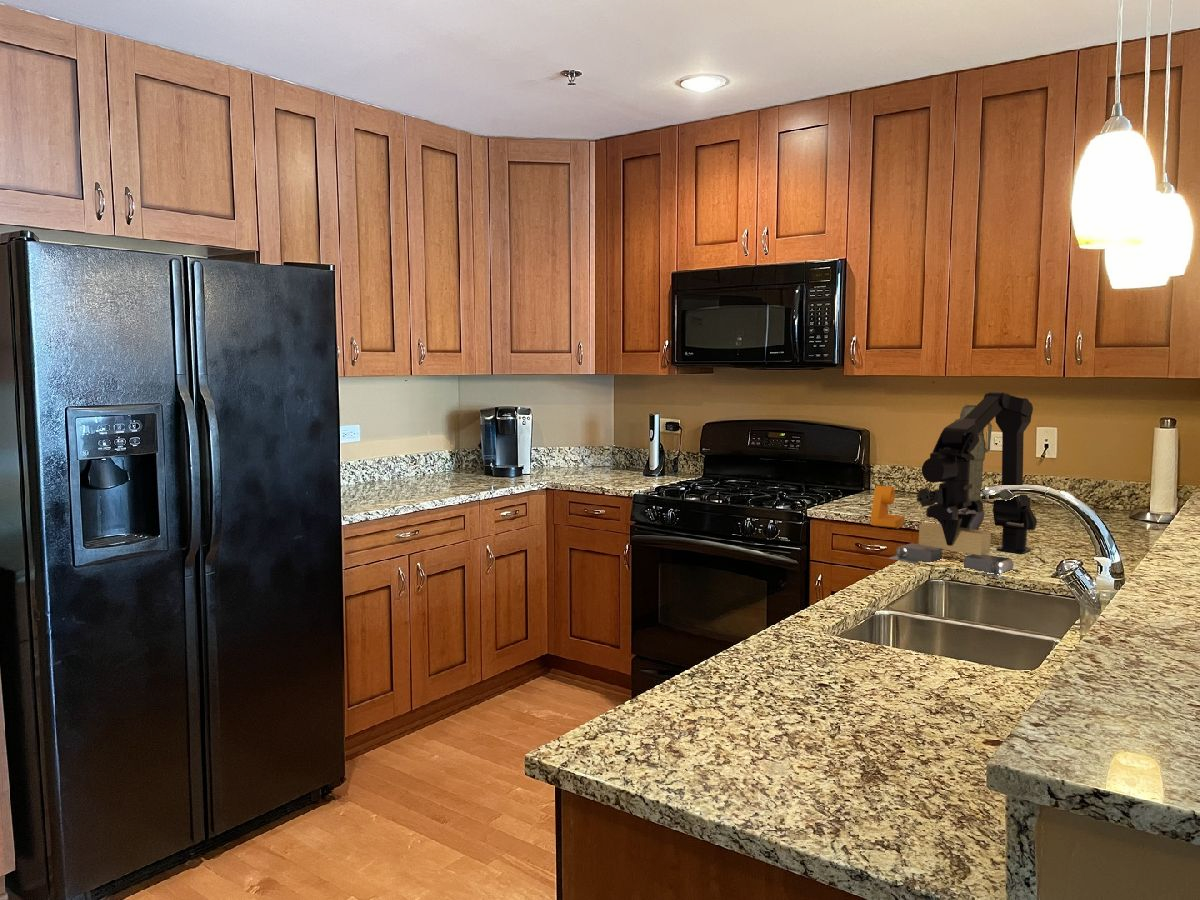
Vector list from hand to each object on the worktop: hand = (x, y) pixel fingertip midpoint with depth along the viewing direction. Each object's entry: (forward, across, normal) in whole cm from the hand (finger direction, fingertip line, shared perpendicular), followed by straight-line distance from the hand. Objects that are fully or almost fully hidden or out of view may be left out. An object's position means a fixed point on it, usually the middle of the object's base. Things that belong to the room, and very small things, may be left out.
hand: (953, 544), depth 212 cm
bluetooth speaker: (+5, -36, -13) cm, 39 cm away
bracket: (+5, -38, -36) cm, 53 cm away
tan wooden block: (+1, 0, 0) cm, 1 cm away
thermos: (+5, -84, -31) cm, 90 cm away
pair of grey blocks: (+5, 0, 0) cm, 5 cm away
